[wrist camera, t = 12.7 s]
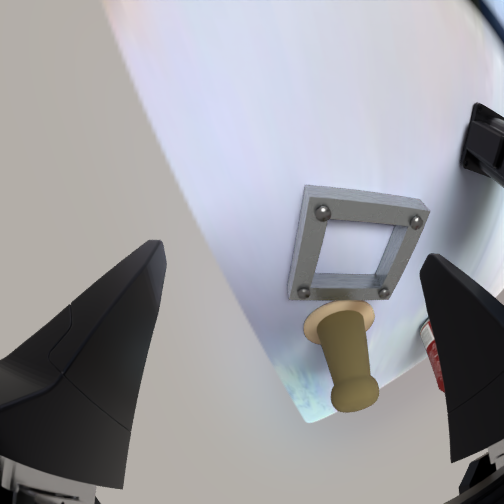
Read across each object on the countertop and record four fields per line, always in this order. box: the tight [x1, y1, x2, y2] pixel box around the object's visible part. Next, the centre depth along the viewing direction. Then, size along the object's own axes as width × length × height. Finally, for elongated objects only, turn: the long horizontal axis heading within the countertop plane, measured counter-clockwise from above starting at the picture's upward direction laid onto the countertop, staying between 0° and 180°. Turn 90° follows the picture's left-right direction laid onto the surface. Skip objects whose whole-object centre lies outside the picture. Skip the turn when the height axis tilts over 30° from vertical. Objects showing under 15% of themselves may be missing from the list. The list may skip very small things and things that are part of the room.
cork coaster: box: [304, 300, 375, 345], centre depth 32 cm, size 9×9×1 cm
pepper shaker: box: [317, 310, 379, 412], centre depth 27 cm, size 6×6×11 cm
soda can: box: [420, 318, 445, 393], centre depth 28 cm, size 7×7×12 cm
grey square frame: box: [287, 185, 430, 300], centre depth 23 cm, size 11×11×2 cm
